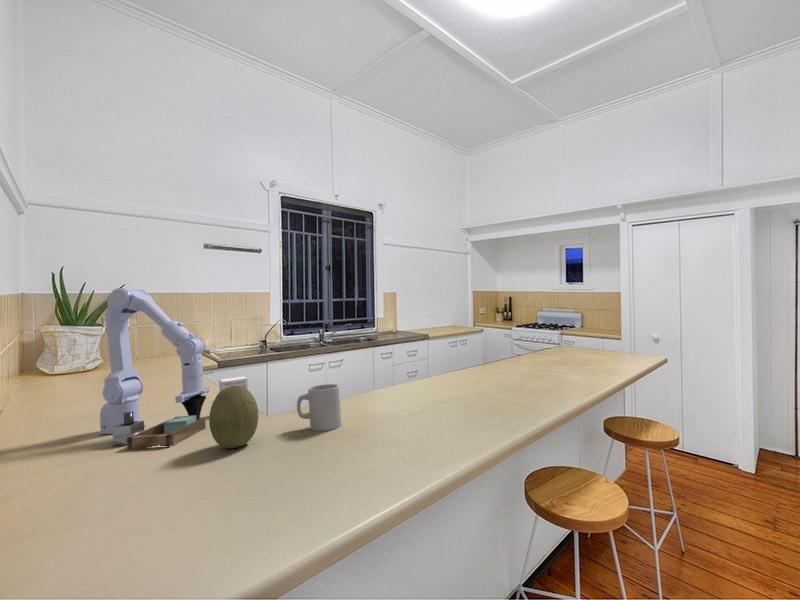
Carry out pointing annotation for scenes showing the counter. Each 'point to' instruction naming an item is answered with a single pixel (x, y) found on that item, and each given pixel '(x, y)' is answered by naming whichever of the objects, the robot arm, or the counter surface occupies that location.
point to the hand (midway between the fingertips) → (194, 420)
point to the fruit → (233, 417)
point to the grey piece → (126, 432)
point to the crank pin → (128, 418)
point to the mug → (322, 407)
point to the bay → (163, 435)
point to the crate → (178, 423)
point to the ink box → (233, 382)
